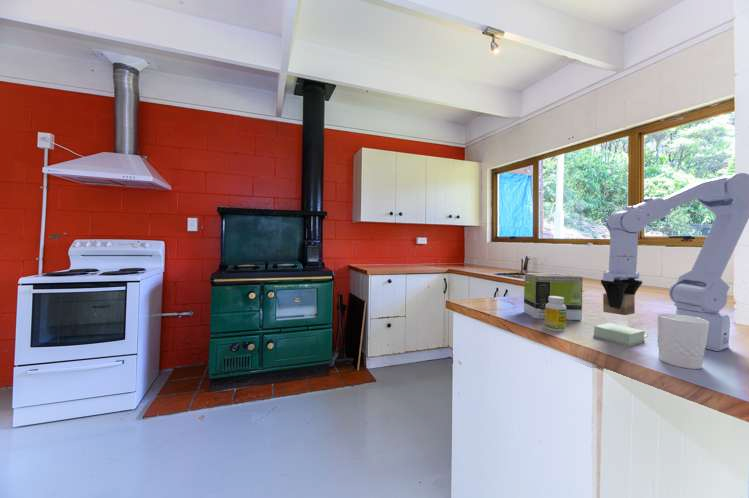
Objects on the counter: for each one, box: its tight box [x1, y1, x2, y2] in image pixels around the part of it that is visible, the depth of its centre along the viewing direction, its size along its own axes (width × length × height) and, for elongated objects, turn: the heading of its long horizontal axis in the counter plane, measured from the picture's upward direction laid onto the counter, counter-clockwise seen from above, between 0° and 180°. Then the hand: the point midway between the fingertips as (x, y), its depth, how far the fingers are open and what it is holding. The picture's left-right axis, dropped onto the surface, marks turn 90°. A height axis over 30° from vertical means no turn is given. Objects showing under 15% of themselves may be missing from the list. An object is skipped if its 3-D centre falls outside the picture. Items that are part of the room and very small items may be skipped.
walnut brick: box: [602, 292, 636, 316], centre depth 82 cm, size 5×5×5 cm
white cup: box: [657, 312, 709, 370], centre depth 67 cm, size 8×8×10 cm
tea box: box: [523, 272, 584, 321], centre depth 105 cm, size 15×10×15 cm, turn 84°
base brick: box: [592, 322, 646, 347], centre depth 82 cm, size 8×8×3 cm
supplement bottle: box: [544, 296, 567, 332], centre depth 90 cm, size 5×5×10 cm
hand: (620, 306), depth 82 cm, fingers closed on walnut brick, 5 cm apart
